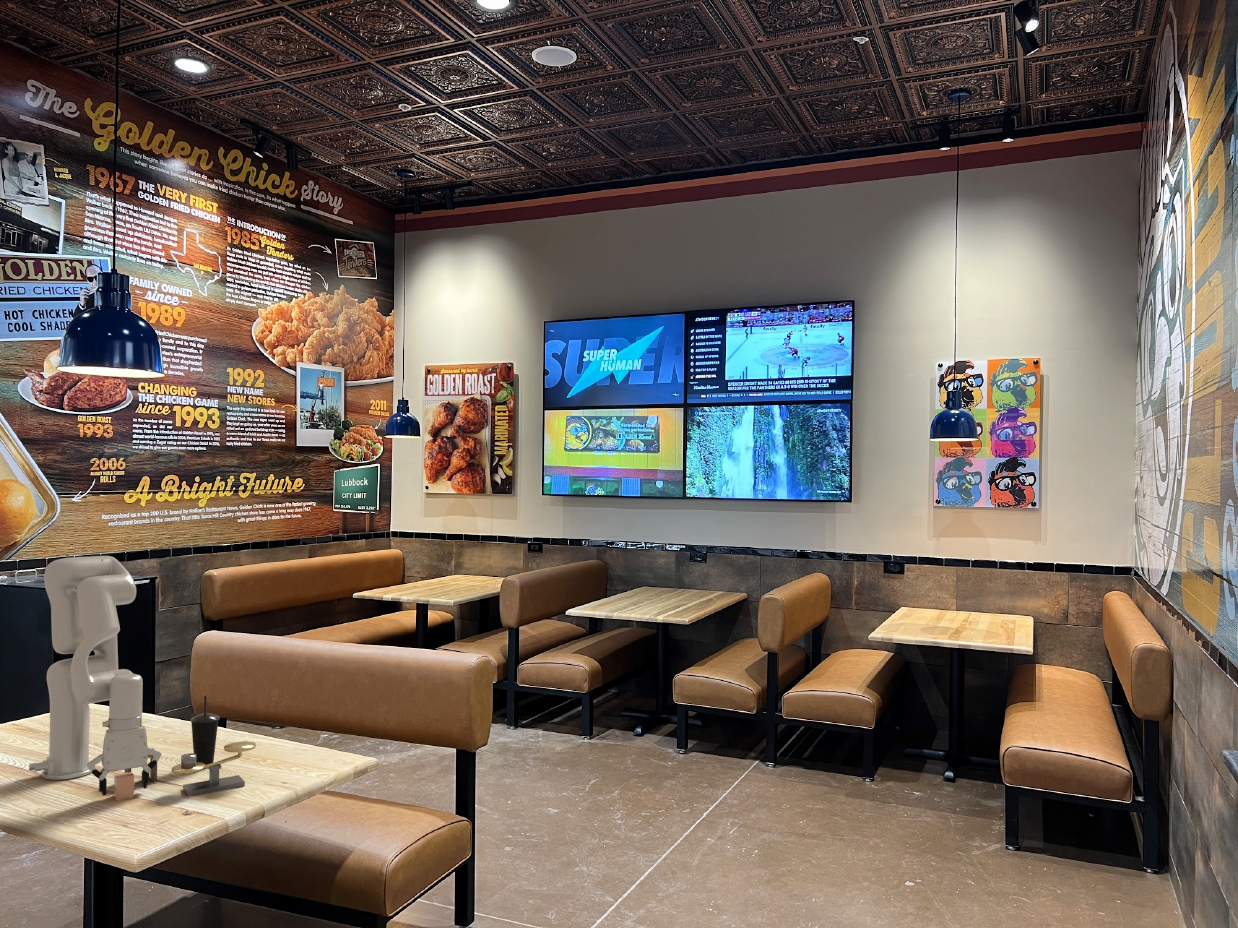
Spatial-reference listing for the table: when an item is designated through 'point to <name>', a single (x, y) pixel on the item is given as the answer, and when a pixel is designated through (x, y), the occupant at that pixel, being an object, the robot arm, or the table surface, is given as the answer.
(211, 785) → the balance
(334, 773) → the table surface
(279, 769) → the table surface
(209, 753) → the drinking cup
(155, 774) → the arch
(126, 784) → the block
